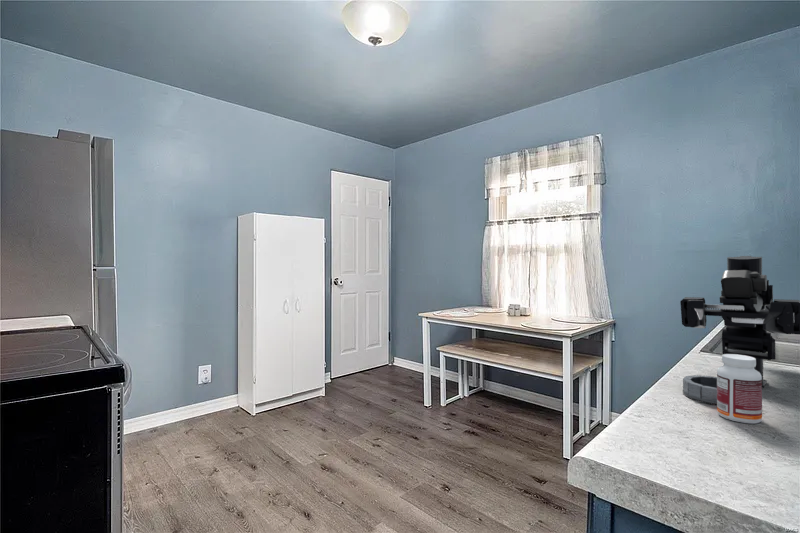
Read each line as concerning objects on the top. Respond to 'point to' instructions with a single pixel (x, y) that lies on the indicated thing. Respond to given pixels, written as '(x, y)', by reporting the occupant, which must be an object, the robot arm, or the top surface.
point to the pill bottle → (739, 389)
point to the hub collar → (701, 388)
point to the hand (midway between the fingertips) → (731, 324)
